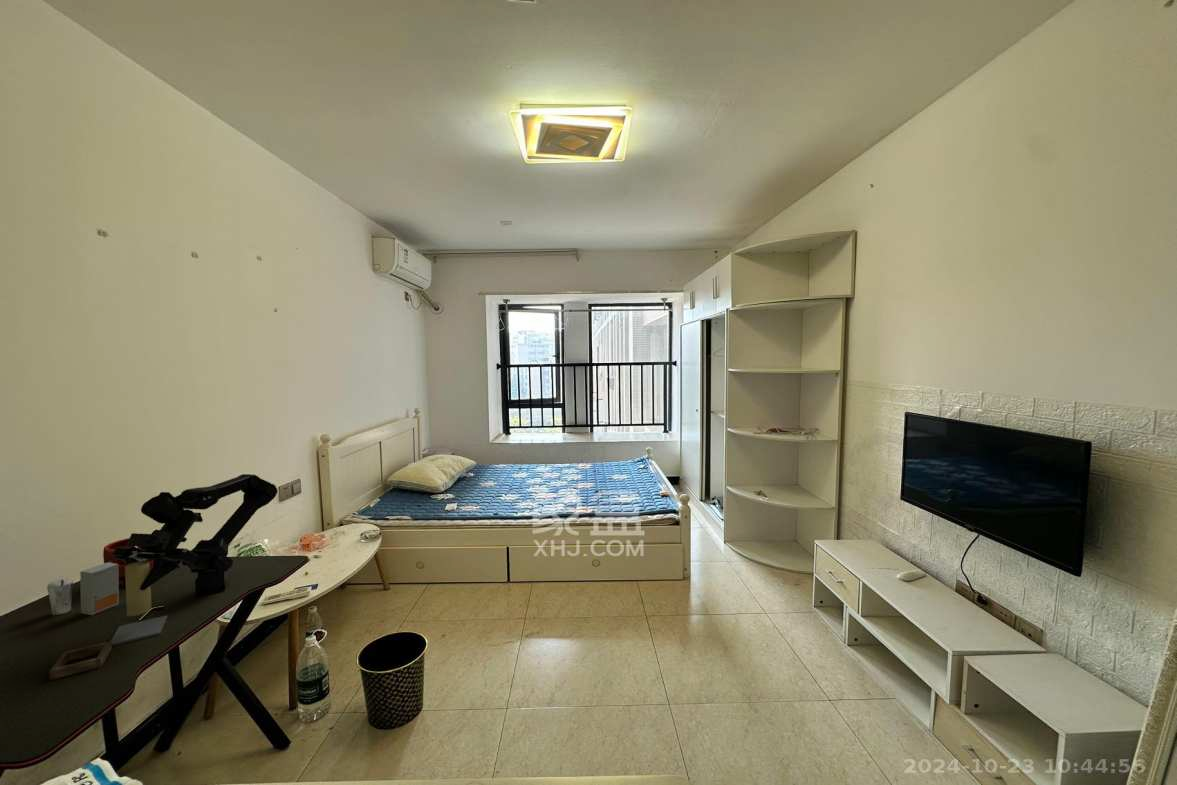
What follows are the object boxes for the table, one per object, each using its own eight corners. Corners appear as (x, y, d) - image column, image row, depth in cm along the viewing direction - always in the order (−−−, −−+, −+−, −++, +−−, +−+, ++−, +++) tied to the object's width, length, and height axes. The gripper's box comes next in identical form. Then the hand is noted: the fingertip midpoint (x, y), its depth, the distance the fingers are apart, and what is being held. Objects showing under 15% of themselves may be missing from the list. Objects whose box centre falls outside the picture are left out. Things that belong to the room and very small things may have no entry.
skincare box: (92, 615, 117) (90, 573, 116) (80, 613, 118) (78, 571, 117) (120, 604, 123) (119, 563, 122) (109, 602, 123) (107, 561, 123)
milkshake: (50, 619, 114) (48, 583, 114) (46, 613, 117) (45, 577, 117) (76, 611, 118) (75, 576, 118) (72, 605, 121) (71, 571, 121)
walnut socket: (111, 648, 104) (111, 640, 104) (101, 666, 98) (100, 658, 98) (64, 660, 99) (63, 652, 99) (49, 680, 93) (49, 671, 93)
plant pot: (133, 589, 131) (132, 551, 130) (91, 587, 131) (89, 549, 130) (175, 569, 144) (174, 534, 143) (136, 568, 144) (135, 533, 143)
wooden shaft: (153, 604, 114) (151, 559, 113) (149, 612, 110) (147, 565, 109) (129, 609, 111) (127, 563, 110) (124, 618, 107) (122, 570, 107)
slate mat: (167, 617, 117) (167, 615, 117) (159, 634, 110) (159, 632, 110) (119, 628, 112) (119, 626, 112) (108, 646, 104) (108, 644, 104)
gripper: (117, 516, 113) (68, 577, 103) (186, 519, 113) (143, 580, 102) (149, 534, 122) (107, 591, 111) (214, 536, 121) (176, 594, 111)
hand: (132, 589), depth 109 cm, fingers closed on wooden shaft, 4 cm apart
